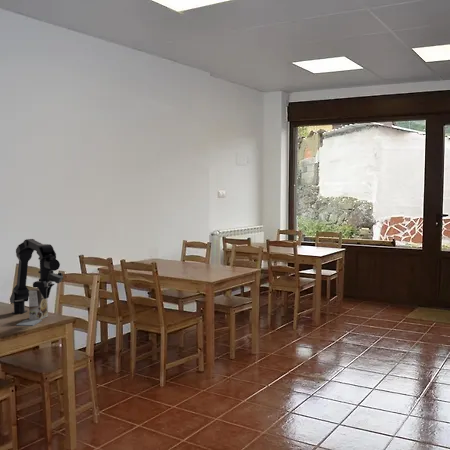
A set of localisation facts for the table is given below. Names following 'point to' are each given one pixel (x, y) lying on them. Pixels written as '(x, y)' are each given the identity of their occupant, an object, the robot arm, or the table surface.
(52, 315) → the table surface
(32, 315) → the coffee box
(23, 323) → the mat
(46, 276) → the robot arm
